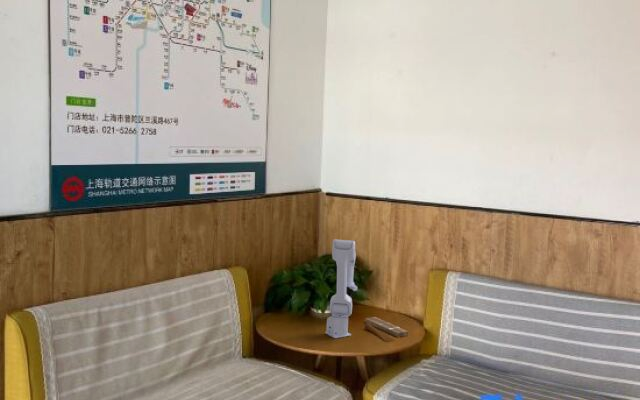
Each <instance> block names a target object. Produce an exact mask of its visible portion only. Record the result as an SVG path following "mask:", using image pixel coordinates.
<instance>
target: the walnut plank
mask: <svg viewBox="0 0 640 400" xmlns="http://www.w3.org/2000/svg"><path fill="white" fill-rule="evenodd" d="M364 322H365V324H366V323H370V324H371V326H373V327H374V328H376V329H378V330H380V331H384V332H385V333H387V334H390V335H392V336H394V337H396V338H401V337H406V336H407V335H408V334H409V333H408V330H406V329H404V328H401V327H399V326H397V325H396V324H395V325H394V324H392V323H390V322H388V321H386V320H383V319H381V318H378V317H376V316H371V317H365V321H364ZM407 337H408V336H407Z"/></svg>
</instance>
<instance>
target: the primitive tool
mask: <svg viewBox="0 0 640 400" xmlns="http://www.w3.org/2000/svg"><path fill="white" fill-rule="evenodd" d="M364 330H366V331H367V330H368V331H370V332H371V333H372V334H374V335H375V336H376V337H377V338H379V339H381V340H382V341H383V342H385V343H391V342H396V339H394V338H393V337H391V336H390V335H387V334H386V333H384V332H382V330H380V329H378V328H376V327H374V326H372V325H371V324H370V323H366V322H365V325H364Z"/></svg>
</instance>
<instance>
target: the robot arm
mask: <svg viewBox="0 0 640 400" xmlns="http://www.w3.org/2000/svg"><path fill="white" fill-rule="evenodd" d="M331 251H332V252H331V254H332V255H331V257H332V260H334V261H335V263H336V293H335V294H334V295H332V296H331V298H330V301H329V313H330V314H331V316H329V317H327V319H326V329H325V332H324V334H326V335H328V336H330V337H331V338H334V339H339V338H345V337H351V336H352V333H350V332H348V330H349V329H348V328H349V316H351V315H352V312H353V299H352V297H351V295H352V294H353V292H354V291H355V292H356V291H358V286H357V285H356V284H355V282H354V272H355V269H354V268H355V263H356V259H357V258H356V257H357V255H356V241H355V240H348V239H336V238H334V239H333V240H332V248H331Z"/></svg>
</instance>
